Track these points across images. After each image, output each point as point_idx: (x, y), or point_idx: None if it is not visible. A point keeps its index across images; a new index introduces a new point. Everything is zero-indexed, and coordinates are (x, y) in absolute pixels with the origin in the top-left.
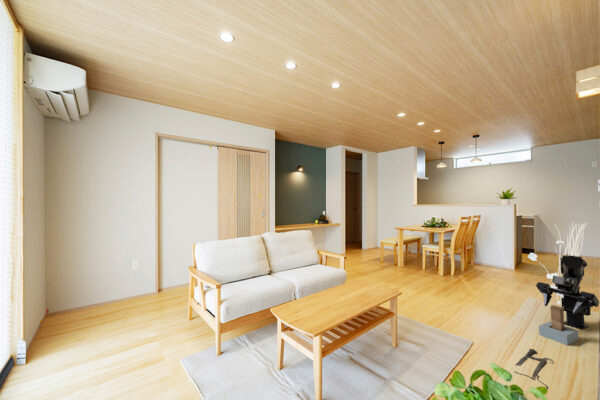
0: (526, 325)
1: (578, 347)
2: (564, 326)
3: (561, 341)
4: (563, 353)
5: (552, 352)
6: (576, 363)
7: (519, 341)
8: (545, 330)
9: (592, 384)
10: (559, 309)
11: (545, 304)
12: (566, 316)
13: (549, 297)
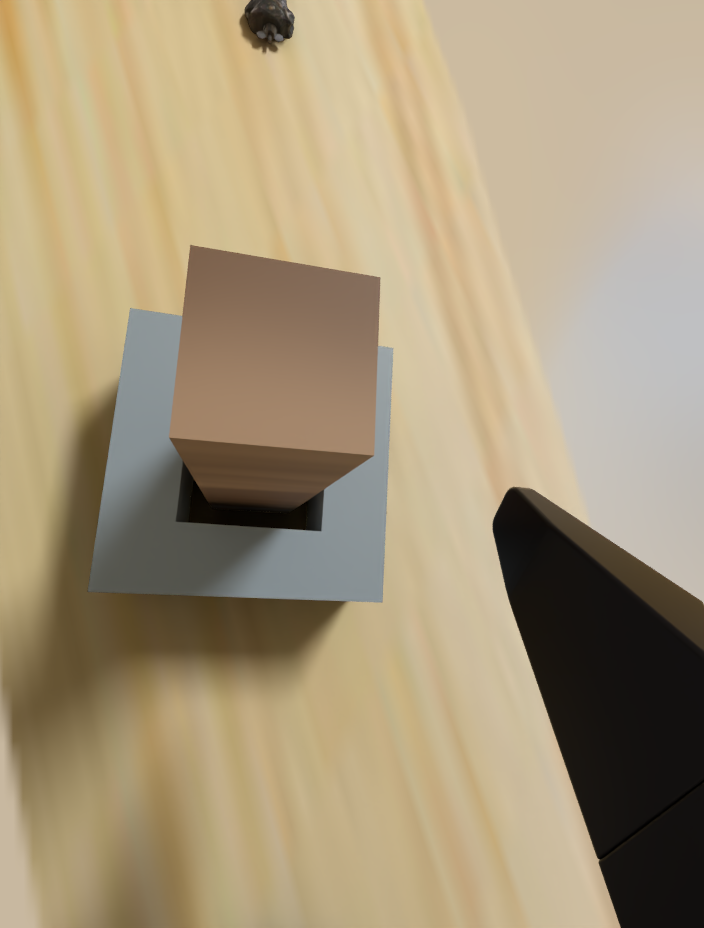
0: None
1: (76, 390)
2: (229, 580)
3: None
4: (126, 164)
5: (184, 120)
6: (13, 61)
7: (393, 132)
8: None
9: None
10: (198, 254)
11: (519, 494)
12: None
13: (648, 828)
